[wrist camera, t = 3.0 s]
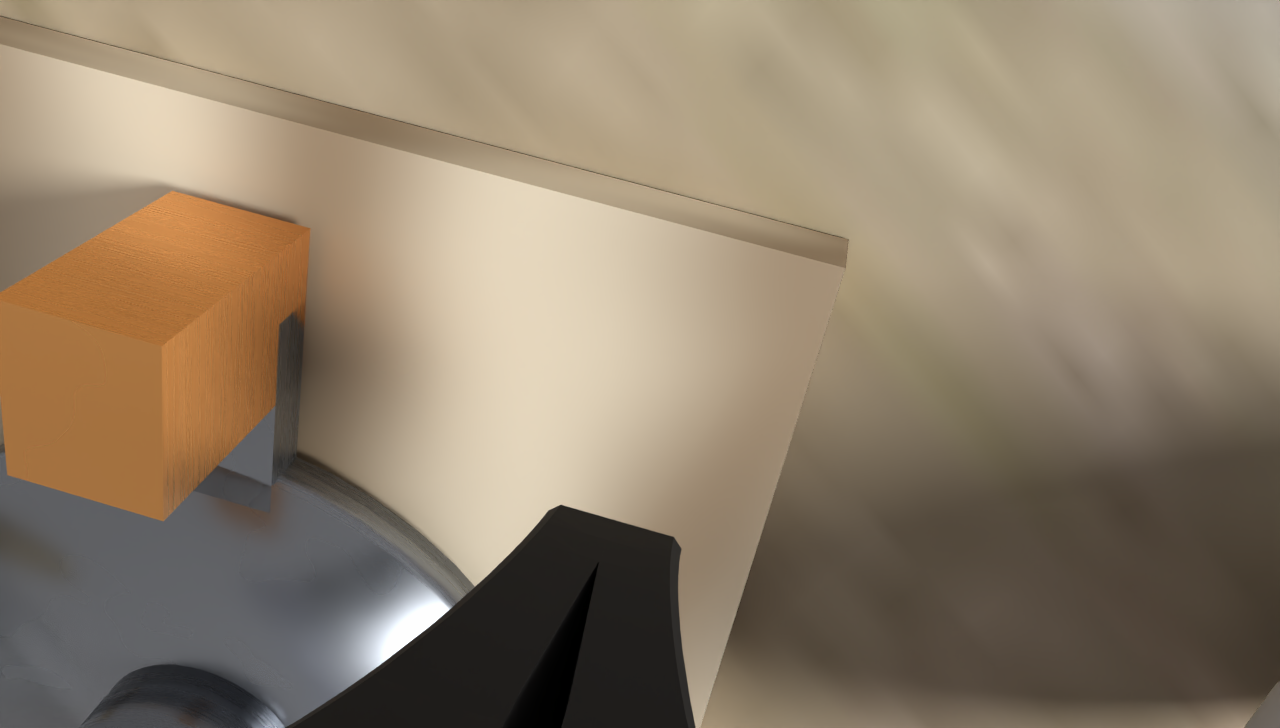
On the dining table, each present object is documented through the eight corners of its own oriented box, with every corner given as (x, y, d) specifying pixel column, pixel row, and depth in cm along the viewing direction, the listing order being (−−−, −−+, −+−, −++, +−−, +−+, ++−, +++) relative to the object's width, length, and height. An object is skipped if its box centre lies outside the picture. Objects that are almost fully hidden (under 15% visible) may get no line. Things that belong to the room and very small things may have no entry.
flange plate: (668, 325, 15) (607, 473, 12) (503, 1013, 23) (441, 1212, 20) (-162, 99, 16) (-419, 182, 13) (-51, 833, 24) (-196, 996, 21)
